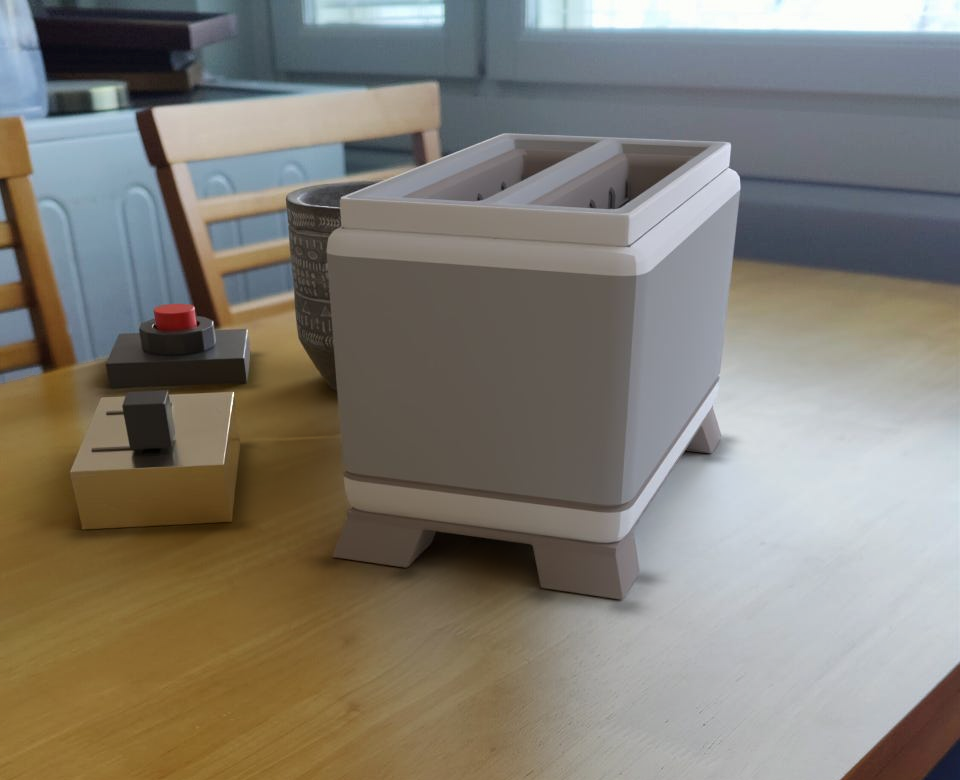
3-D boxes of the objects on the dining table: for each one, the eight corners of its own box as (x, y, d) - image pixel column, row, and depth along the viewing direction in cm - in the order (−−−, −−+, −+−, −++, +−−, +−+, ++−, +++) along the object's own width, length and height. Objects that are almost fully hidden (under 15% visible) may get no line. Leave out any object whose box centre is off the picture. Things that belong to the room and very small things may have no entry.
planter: (432, 352, 115) (427, 175, 106) (483, 394, 105) (482, 201, 96) (286, 368, 112) (268, 185, 103) (324, 413, 101) (307, 214, 92)
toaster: (729, 425, 98) (763, 134, 86) (623, 600, 72) (649, 222, 60) (504, 401, 103) (506, 124, 91) (332, 557, 78) (301, 201, 65)
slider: (130, 450, 82) (121, 405, 80) (134, 435, 84) (126, 391, 82) (171, 448, 82) (164, 403, 80) (175, 433, 85) (168, 389, 83)
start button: (154, 335, 108) (151, 314, 106) (158, 324, 110) (155, 304, 109) (195, 333, 108) (192, 312, 107) (198, 323, 111) (195, 302, 110)
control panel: (82, 529, 82) (69, 470, 79) (111, 449, 94) (100, 396, 92) (231, 522, 83) (223, 462, 80) (240, 443, 95) (233, 390, 93)
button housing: (110, 389, 107) (101, 342, 104) (123, 358, 115) (115, 313, 112) (247, 383, 108) (241, 336, 105) (250, 352, 116) (245, 308, 113)
